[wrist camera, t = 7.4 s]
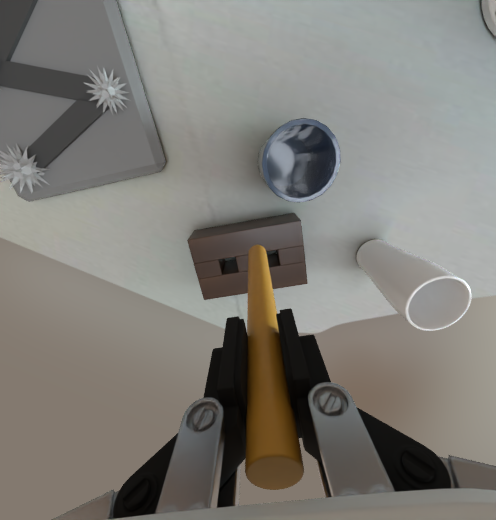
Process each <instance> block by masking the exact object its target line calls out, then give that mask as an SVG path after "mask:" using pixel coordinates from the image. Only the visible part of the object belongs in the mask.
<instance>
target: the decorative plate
mask: <svg viewBox="0 0 496 520" xmlns="http://www.w3.org/2000/svg"><path fill="white" fill-rule="evenodd" d="M165 163H166V160H165V157H164V154H163V150H162V147H161V144H160V141H159V137H158V134H157V131H156V128H155V124H154V121H153V118H152V115H151V111H150V108H149V105H148V102H147V98H146V95H145V92H144V89H143V85H142V82H141V79H140V76H139V72H138V69H137V66H136V63H135V59H134V56H133V53H132V50H131V46H130V43H129V40H128V37H127V33H126V30H125V27H124V24H123V20H122V17H121V14H120V11H119V7H118V4H117V1H116V0H0V164H1V165H0V167H1V168H0V169H2V170H3V171H2V172H0V174H7V175H5V176H3V177H4V178H3V177H1V178H2V179H3V180H2V181H5V180H8V179H9V180H10V182H11V186H10V189H11V188H12V187H14V189H15V191H16V193H17V195H18V196H19V197H21V198H23V199H25V200H27V201H34V200H38V199H43V198H47V197H51V196H56V195H60V194H64V193H69V192H73V191H78V190H82V189H86V188H91V187H95V186H99V185H104V184H108V183H112V182H117V181H121V180H126V179H130V178H134V177H139V176H143V175H147V174H152V173H156V172H160V171H161V170H162V169H163V167H164V165H165ZM2 181H0V182H2ZM10 189H9V190H10Z"/></svg>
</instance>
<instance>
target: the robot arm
mask: <svg viewBox="0 0 496 520" xmlns="http://www.w3.org/2000/svg"><path fill="white" fill-rule="evenodd" d="M482 11H483V15H484V19H485V22H486V24H487V26H488V28H489V30H490V31H491V32H492V33H493V35H494V36H495V37H496V0H482ZM276 318H277V324H278V330H279V336H280V342H281V348H282V354H283V360H284V366H285V372H286V379H287V385H288V390H289V396H290V402H291V408H292V409H293V411H294V415H295V421H296V426H297V432H298V438H302V440H303V445H304V448H305V450H306V451H307V452H308V453H309V454H310V455H312V456H313V457H314V458H315V459H316V463H317V467H318V471H319V475H320V479H321V483H322V487H323V492H324V496H325V498H318V499H306V500H297V501H296V500H295V501H284V502H274V503H263V504H253V505H242V506H239V493H240V475H241V474H240V473H241V469H240V468H241V467H240V464H241V463H242V462H243V460H244V459H245V458H246V413H247V355H248V336H247V332H246V327H245V323H244V319H239V317H232V318H227V321H226V328H225V335H224V342H223V347H222V348H215V349H213V352H212V356H211V362H210V367H209V372H208V377H207V382H206V388H205V393H204V398H202V399H199V400H197V401H195V402H194V403H193V404H192V405H190V406H189V408H188V409H187V410H186V411H185V414H184V416H183V419H182V422H181V426H180V429H179V433H178V434H176V435H175V436H174V437H173V438H172V439H171V440H170V441H169V442H168V443H167V444H166V445H165V446H163V447H162V448H161V449H160V450H159V451H158V452H157V453H156V454H155V455H154V456H153V457H151V458H150V459H149V460H148V461H147V462H146V463H145V464H144V465H143V466H142V467H141V468H139V469H138V470H137V471H136V472H135V473H134V474H133V475H132V476H131V477H130V478H129V479H128V480H127V481H126V482H125V483H124V484H123V486H122V488H121V489H120V490H119V491H117V492H114V490H111V491H109V492H107V493H105V494H104V495H101V496H99V497H97V498H95V499H93V500H91V501H89V502H87V503H85V504H83V505H81V506H79V507H77V508H75V509H73V510H71V511H69V512H67V513H65V514H63V515H60V516H58V517H56V518H54V519H52V520H496V466H493V465H488V464H484V463H480V462H476V461H472V460H467V459H463V458H459V457H454V456H450V455H449V458H448V459H447V458H443V457H438V456H437V455H436V454H435V453H434V452H433V451H431V450H430V449H428V448H427V447H425V446H424V445H422V444H420V443H419V442H417V441H415V440H413V439H412V438H410V437H408V436H406V435H404V434H403V433H401V432H399V431H397V430H396V429H394V428H392V427H390V426H389V425H387V424H385V423H383V422H382V421H379V420H378V419H376V418H374V417H373V416H371V415H369V414H368V413H366V412H364V411H362V410H360V409H359V408H357V407H356V405H355V403H354V401H353V399H352V397H351V396H350V394H349V393H348V391H347V390H346V389H345V388H343V387H342V386H340V385H338V384H335V383H331V381H330V378H329V375H328V372H327V370H326V367H325V364H324V361H323V359H322V356H321V353H320V350H319V348H318V345H317V342H316V339H315V336H314V335H306V336H299V335H298V331H297V327H296V324H295V320H294V316H293V313H292V309H284V310H280V313H279V314H276Z"/></svg>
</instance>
